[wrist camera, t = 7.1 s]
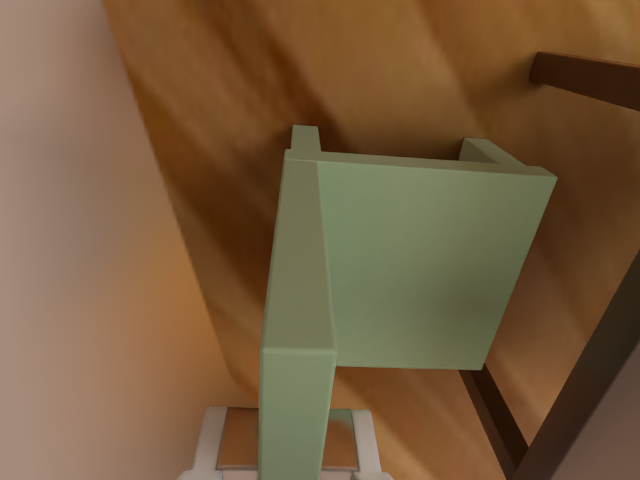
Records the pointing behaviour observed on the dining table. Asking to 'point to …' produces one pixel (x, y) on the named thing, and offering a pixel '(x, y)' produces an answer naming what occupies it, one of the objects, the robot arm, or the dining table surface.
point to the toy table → (597, 357)
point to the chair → (383, 276)
